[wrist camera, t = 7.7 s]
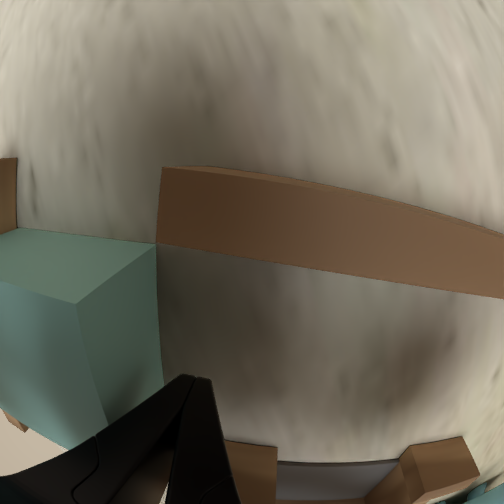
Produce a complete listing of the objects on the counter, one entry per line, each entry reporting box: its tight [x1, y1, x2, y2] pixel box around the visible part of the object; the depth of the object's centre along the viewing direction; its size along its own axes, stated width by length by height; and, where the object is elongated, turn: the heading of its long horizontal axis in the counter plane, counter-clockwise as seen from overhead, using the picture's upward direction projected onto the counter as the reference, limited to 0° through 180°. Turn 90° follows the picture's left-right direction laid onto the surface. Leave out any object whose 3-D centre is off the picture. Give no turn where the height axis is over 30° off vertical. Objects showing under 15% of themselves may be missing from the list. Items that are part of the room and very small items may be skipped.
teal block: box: [0, 228, 164, 450], centre depth 7 cm, size 6×6×4 cm
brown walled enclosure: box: [0, 158, 504, 504], centre depth 8 cm, size 17×23×3 cm
